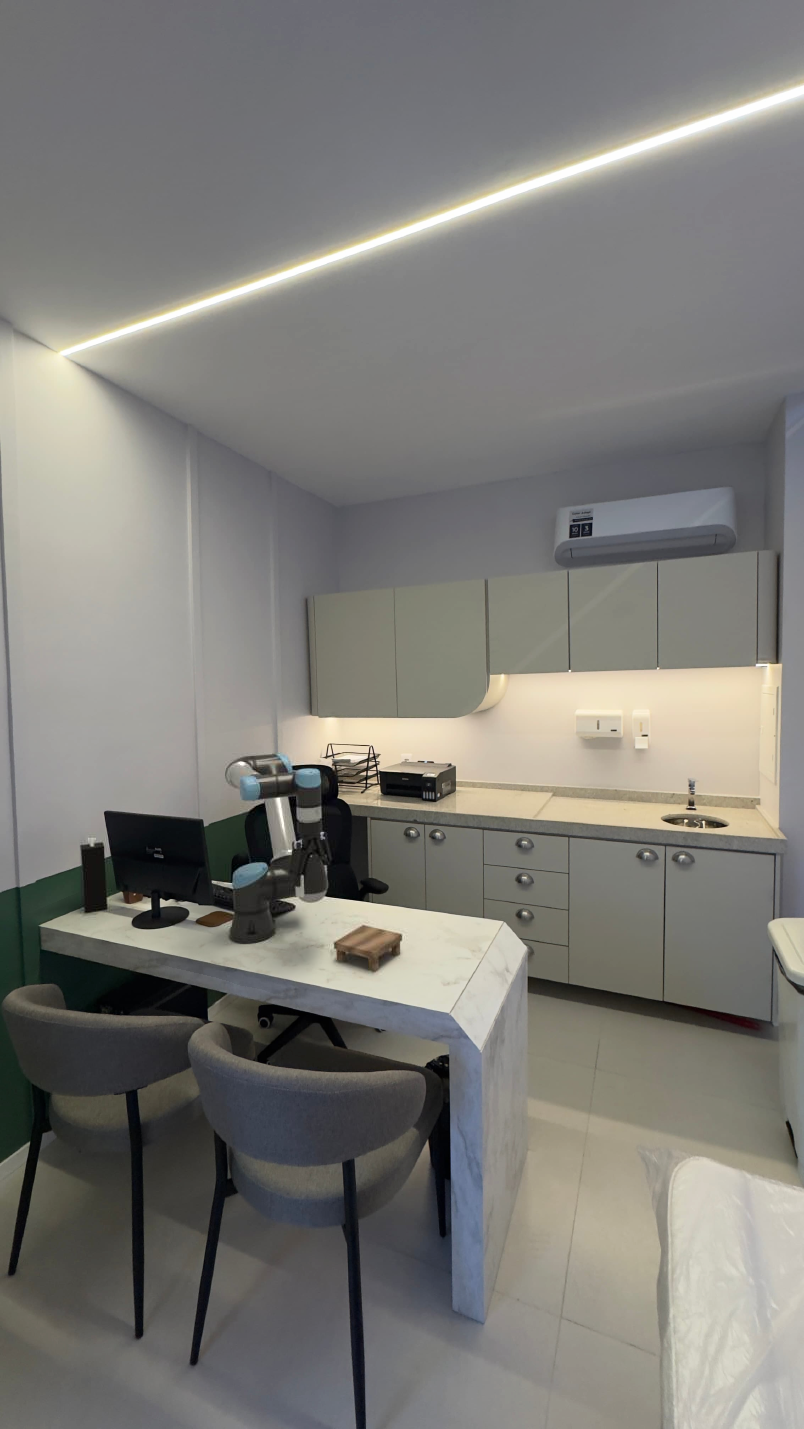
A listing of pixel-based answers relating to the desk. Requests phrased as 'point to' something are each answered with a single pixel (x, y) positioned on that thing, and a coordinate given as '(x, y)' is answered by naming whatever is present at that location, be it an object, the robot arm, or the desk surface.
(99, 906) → the tissue box
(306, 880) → the pump dispenser
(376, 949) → the walnut footstool
